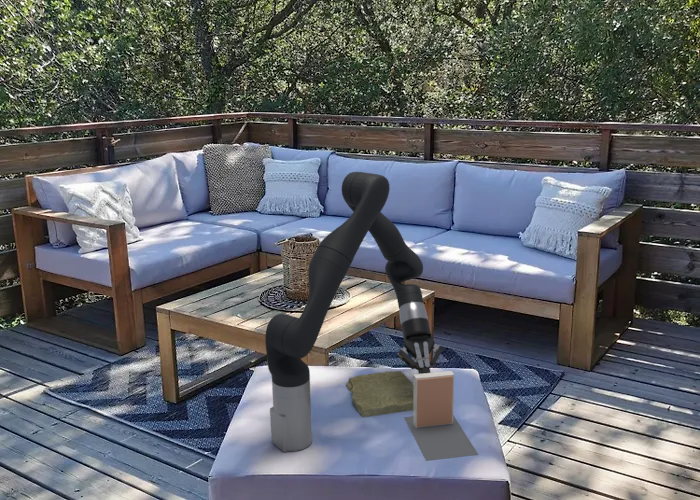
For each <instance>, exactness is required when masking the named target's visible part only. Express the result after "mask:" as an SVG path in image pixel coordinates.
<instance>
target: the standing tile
mask: <svg viewBox="0 0 700 500" xmlns="http://www.w3.org/2000/svg"><path fill="white" fill-rule="evenodd" d="M413 385H414V390H413V410H412V411H413V414H412V416H413V424H414V426H415V428H420V427H429V426H439V425H448V424H453V415H454V394H455V374H454V372H453V371H452V370H446V371H434V372H431V373H424V374H419V373H415V374H413Z"/></svg>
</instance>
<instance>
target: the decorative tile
mask: <svg viewBox="0 0 700 500" xmlns="http://www.w3.org/2000/svg"><path fill="white" fill-rule="evenodd" d="M345 386H346V388H347V390H348V391H349V392H350V393H351V397H352V399H351V400H352V403H353V406H354V408H355V409H356V410H357V412H358V413H359V415H361V418H369V417H374V416H381V415H382V416H383V415H390V414H391V415H392V414H396V413H403V412H410V411H413V390H414V383H413V382H412V380H411V379H409V378H408V377H407V375H406V374H405V373H403V372H402V371H401V370H400V371H399V370H398V371H383V372H376V373H375V372H374V373H373V372H372V373H368V374H359V375H354V376H352V377H349V378H348V380H347V382H346V383H345Z"/></svg>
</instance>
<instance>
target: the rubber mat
mask: <svg viewBox="0 0 700 500" xmlns="http://www.w3.org/2000/svg"><path fill="white" fill-rule="evenodd" d="M403 418H404V420H405V423H406V424H407V426H408V428H409V430H410V433H411V434H412V436H413V437H414V440H415V442H416V444H417V446H418V448H419V450H420V452H421V453H422V456H423V458H424V459H425V461H426V462H428V461H436V460H445V459H454V458H462V457H469V456H478V455H479V453H478V451H477V449H475V446H474V445H473V443H472V442H471V439H469V437H468V436H467V434H466V432H465V430H464V429H463V428H462V426H461V425H460V424H459V421H458V419H456V417H455V416H454V414H453V424H448V425H439V426H429V427H420V428H415V426H414V424H413V415H412V416H403Z"/></svg>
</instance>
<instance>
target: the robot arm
mask: <svg viewBox="0 0 700 500" xmlns="http://www.w3.org/2000/svg"><path fill="white" fill-rule="evenodd" d="M341 184H342V185H341V195H342V198H343V200H344V202H345V204H346V205H347V206H348V207H349V209H351V211H352V214H350V216H349V218H348V219H346V221H344V222H343V223H342V224H340V225H339V226H337V227H336V228H335V229H334V230H333V231H331V232H330V233H328V234H327V235H326V236H325V237H324V238H323V239H322V240H321V242H320V243H319V244H318V246H317V248H316V250H315V251H314V254H313V256H312V257H311V260H310V262H309V265H308V270H307V271H308V272H307V274H308V275H307V277H308V299H307V302H306V304H305V306H304V309H303V311H302V313H301V314H300V316H299V317H295V316H293V315H290V314H286V313H278V314H275V315H273V317H271V319H270V320H269V321H268V324H267V326H266V329H265V336H264V339H265V340H264V341H265V352H266V362H267V368H268V371H269V374H271V388H272V389H271V390H272V407H270V409H269V415H270V433H271V435H270V437H271V443H272V444H273V445H274V446H276V447H277V448H278V449H280V450H281V452H282V453H286V452H296V451H297V452H298V451H301V450H303V449H306V448H308V447H310V445H311V444H312V441H313V437H312V436H313V435H312V434H313V431H312V430H313V428H312V404H311V375H310V374H311V373H310V367H309V366H308V364H307V363H306V362H305V361H303V360H302V359H303V358H305V357H307V356H308V354H309V353H310V352H311V350H313V347H314V346H315V343H316V342H317V339H318V337H319V335H320V332H321V329H322V327H323V325H324V322H325V319H326V317H327V314H328V311H329V309H330V308H331V304H332V302H333V300H334V298H335V296H336V294H337V292H338V290H339V287H340V286H341V284H342V282H343V281H344V278H345V277H346V274H347V273H348V271H349V269H350V267H351V265H352V262H354V259H355V256H356V254H357V252H358V250H359V249H360V247H361V246H362V245H361V244H362V242H363V241H364V239H365V237H366V235H367V233H369V234H370V235H371V237H372V238H373V240H374V241H375V244H376V245H377V247H378V249H379V251H380V252H381V254H382V256H383V258H384V259H385V260H386V261H387V262H386V264H385V267H384V269H385V270H384V271H385V274H386V277H387V279H388V280H389V282H390V284H391V286H392V288H393V290H394V293H395V296H396V300H397V305H398V309H399V311H398V312H399V322H400V326H401V332H402V336H403V337H402V338H403V341H404V342H403V346H402V348H401V349H399V350H398V352H397V354H396V356H397V357H398V358H399V359H400V360H402V361H403V363H404V364H406V365H407V366H408V367H409V368H410V369H411V370H417V372H418V374H424V373H432V372H431V368H433V367H435V365H436V363H437V361H438V360H439V358H440V356H441V354H442V353H443V350H444V346H443V345H438V344H436V342H435V339H433V337H432V331H431V326H430V323H429V317H428V312H427V310H426V306H425V302H424V299H423V292H422V290H421V287H420V286H419V285H417V284H413V283H412V284H411V283H410V284H404V283H403V282H407V281H410V280H413V279H417V278H419V277H421V275H422V274H423V272H424V265H423V264H424V263H423V262H422V260H421V258H420V256H418V254H417V253H416V252H415V251H414V250H413V249H411V248H410V246H408V245H407V244H406V242H405V240H404V238H403V235H402V234H401V232H400V230H399V228H398V227H397V226H396V225H395V224H394V223H393V222H392V221H391V220H390V219H389V218H388V217H386V216H385V215H384V214H383V212H382V210H383V208H384V206H385V205H386V203H387V200H388V198H389V195H390V182H389V180H388V178H387V177H385V176H384V175H382V174H377V173H372V172H363V171H352V172H350V173H348V174H346V176H345V177H344V179H343V181H342V183H341ZM402 283H403V284H402ZM432 350H433V353H434V355H433V357H432V359H431V360H430V355H431V352H432Z"/></svg>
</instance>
